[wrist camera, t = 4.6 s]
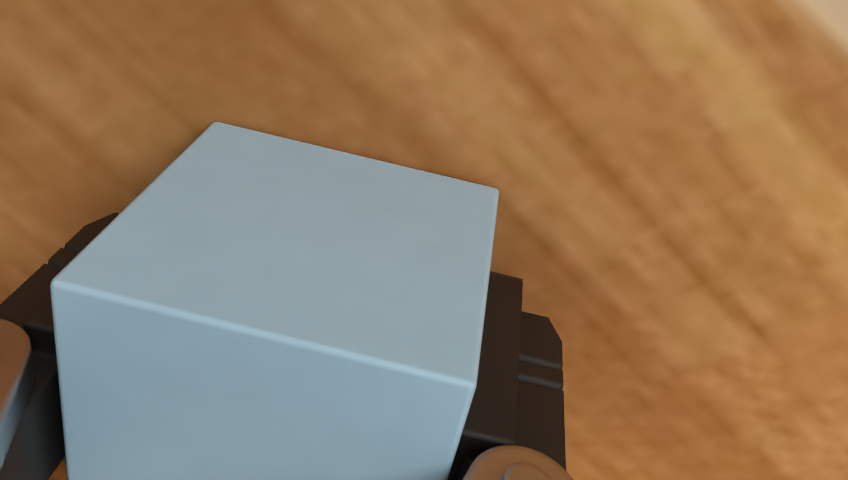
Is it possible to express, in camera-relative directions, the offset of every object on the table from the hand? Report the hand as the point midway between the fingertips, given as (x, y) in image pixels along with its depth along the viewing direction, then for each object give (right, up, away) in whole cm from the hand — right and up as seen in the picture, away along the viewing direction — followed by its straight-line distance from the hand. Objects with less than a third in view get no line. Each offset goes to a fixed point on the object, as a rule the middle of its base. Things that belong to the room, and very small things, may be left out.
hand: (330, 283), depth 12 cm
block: (0, 0, 0) cm, 0 cm away
